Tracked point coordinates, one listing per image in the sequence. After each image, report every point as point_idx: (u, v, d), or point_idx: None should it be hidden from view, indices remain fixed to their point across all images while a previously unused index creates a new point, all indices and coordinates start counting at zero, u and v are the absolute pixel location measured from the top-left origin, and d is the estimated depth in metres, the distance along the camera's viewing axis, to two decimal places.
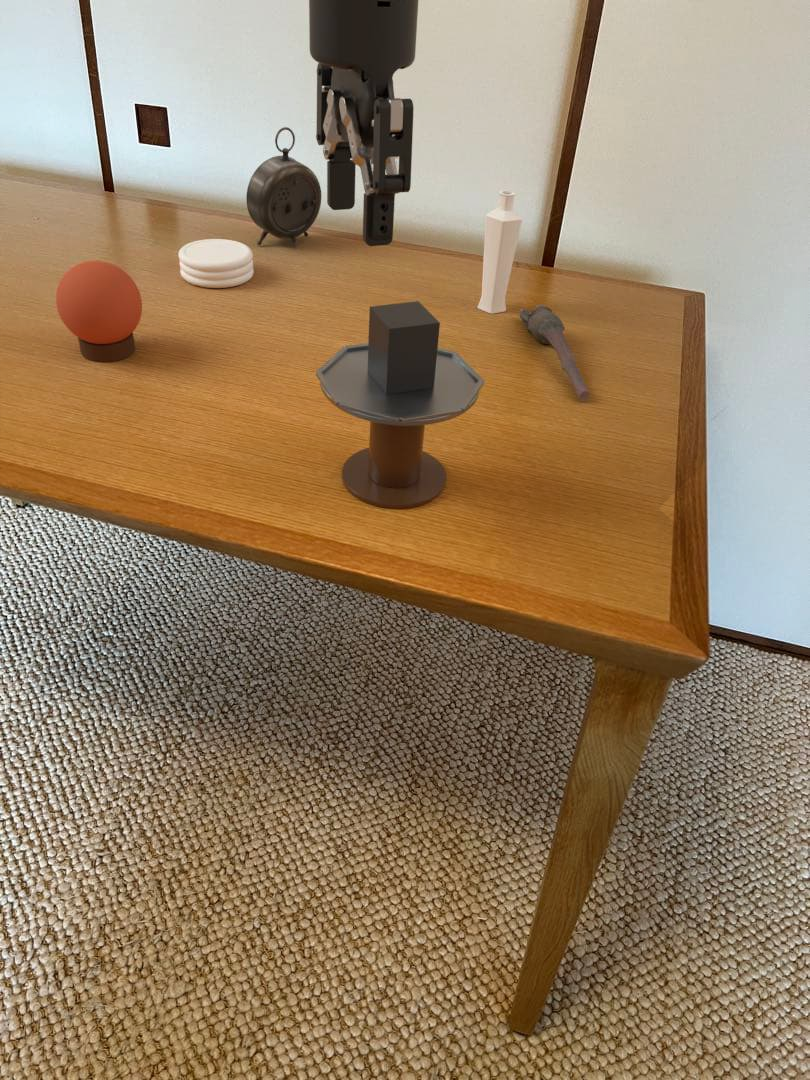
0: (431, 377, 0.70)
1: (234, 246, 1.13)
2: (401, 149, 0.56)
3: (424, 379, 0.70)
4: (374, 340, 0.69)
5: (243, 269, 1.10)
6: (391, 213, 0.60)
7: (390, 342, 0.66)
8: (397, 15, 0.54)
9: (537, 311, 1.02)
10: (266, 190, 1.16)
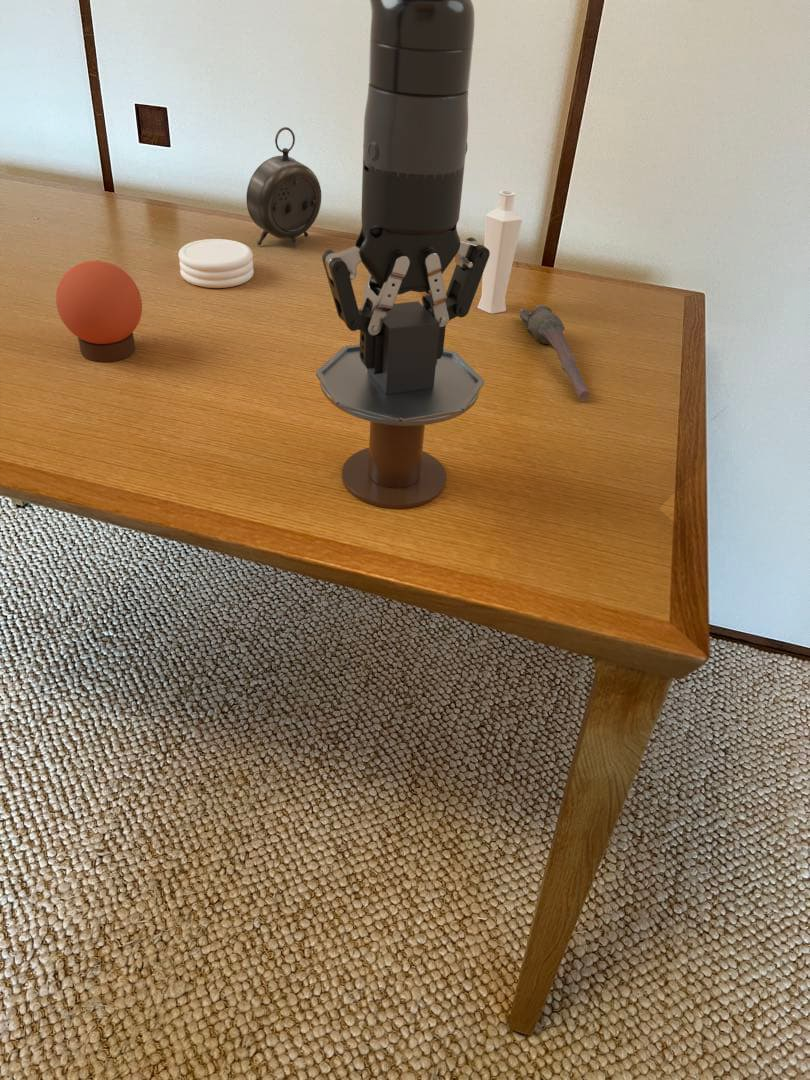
0: (431, 377, 0.70)
1: (234, 246, 1.13)
2: (337, 296, 0.64)
3: (424, 380, 0.70)
4: None
5: (243, 269, 1.10)
6: (365, 347, 0.67)
7: (390, 342, 0.66)
8: (374, 182, 0.59)
9: (537, 311, 1.02)
10: (266, 190, 1.16)
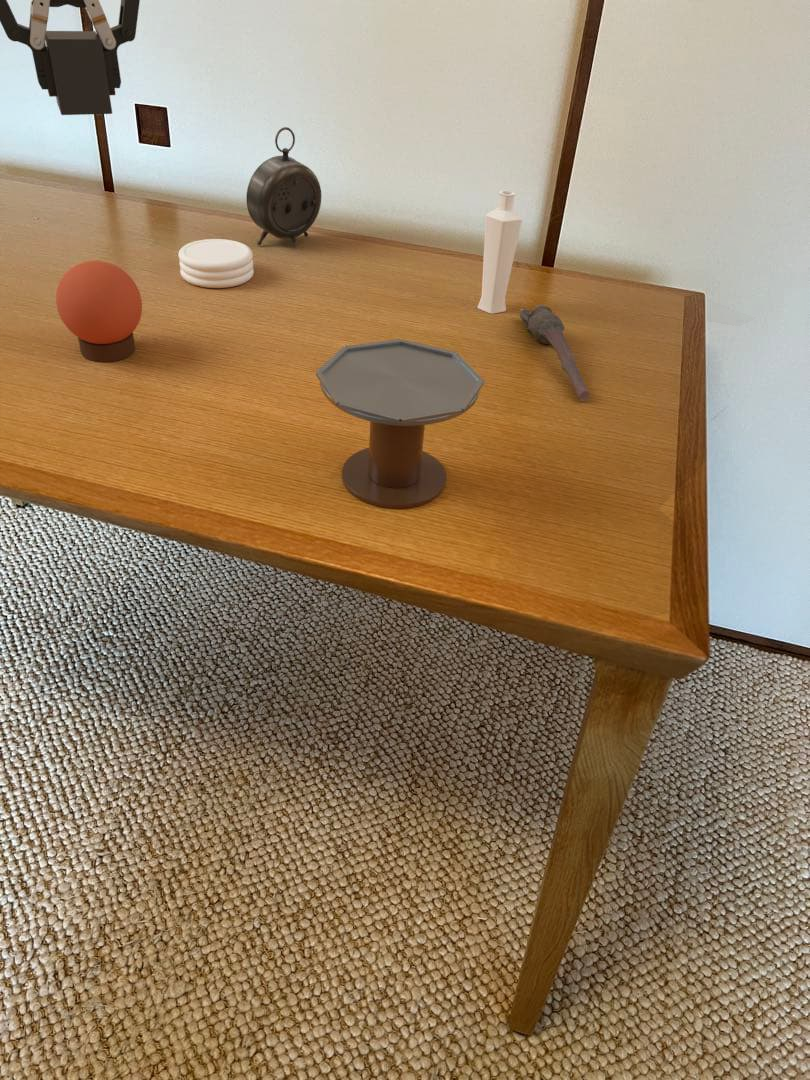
0: (106, 101, 0.75)
1: (234, 246, 1.13)
2: None
3: (99, 103, 0.75)
4: None
5: (243, 269, 1.10)
6: (35, 64, 0.73)
7: (52, 54, 0.71)
8: None
9: (537, 311, 1.02)
10: (266, 190, 1.16)
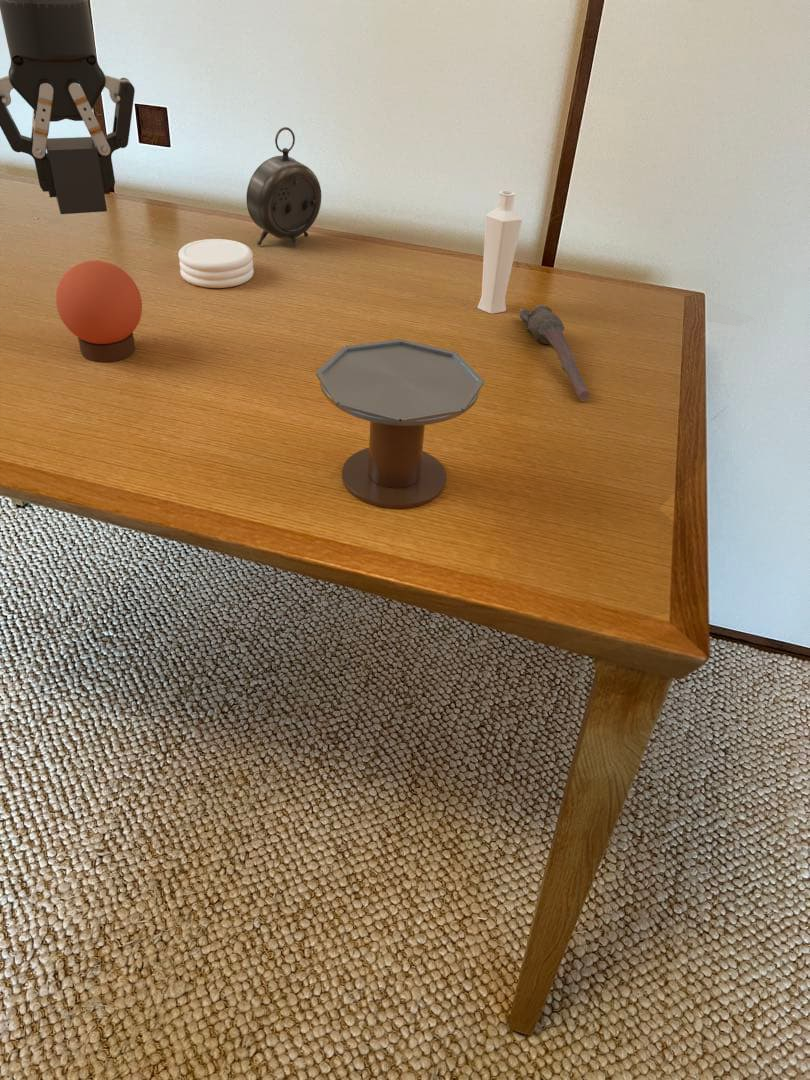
0: (102, 201, 0.82)
1: (234, 246, 1.13)
2: None
3: (95, 203, 0.82)
4: None
5: (243, 269, 1.10)
6: None
7: (52, 163, 0.79)
8: (4, 13, 0.71)
9: (537, 311, 1.02)
10: (266, 190, 1.16)
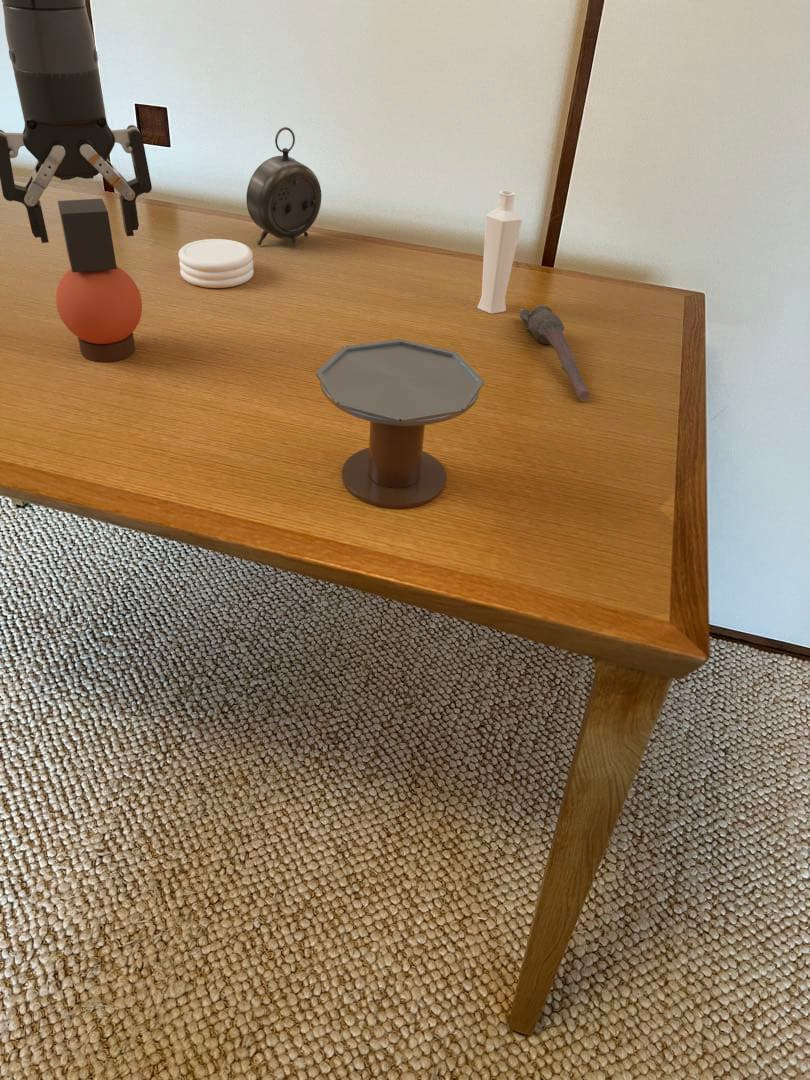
0: (112, 259, 0.86)
1: (234, 246, 1.13)
2: None
3: (106, 261, 0.86)
4: (63, 228, 0.85)
5: (243, 269, 1.10)
6: None
7: (65, 225, 0.83)
8: (19, 82, 0.75)
9: (537, 311, 1.02)
10: (266, 190, 1.16)
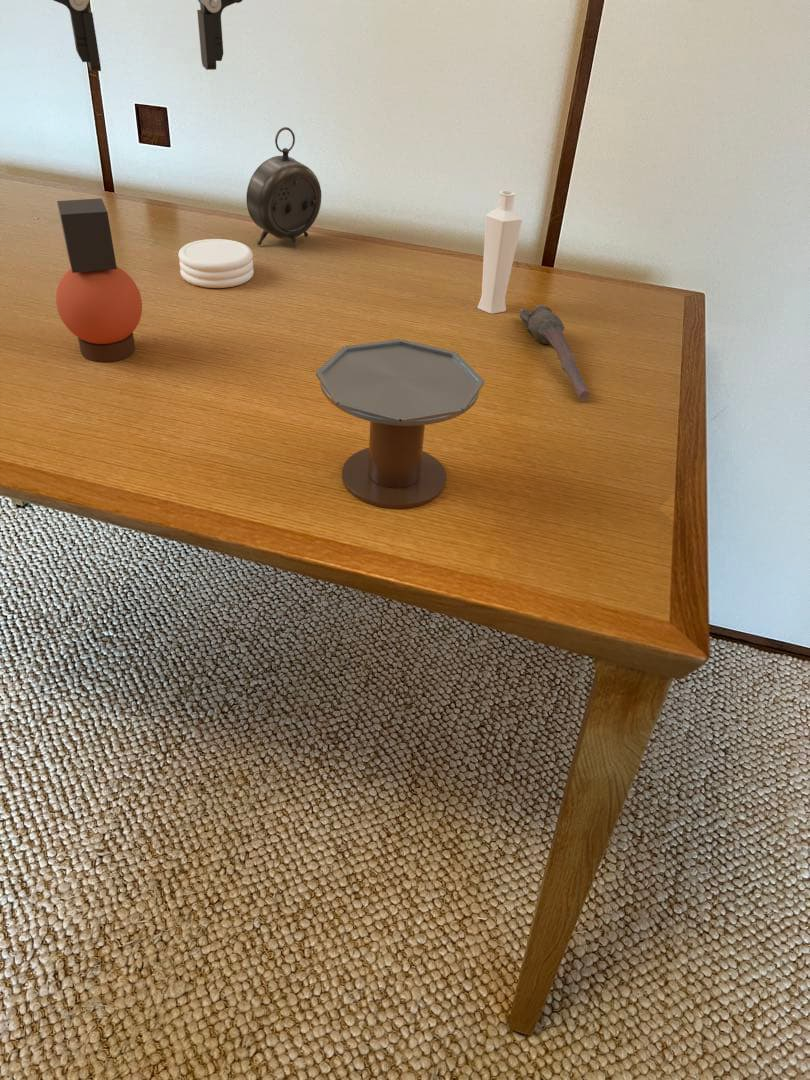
0: (112, 259, 0.86)
1: (234, 246, 1.13)
2: None
3: (106, 261, 0.86)
4: None
5: (243, 269, 1.10)
6: (74, 30, 0.58)
7: (64, 226, 0.83)
8: None
9: (537, 311, 1.02)
10: (266, 190, 1.16)
